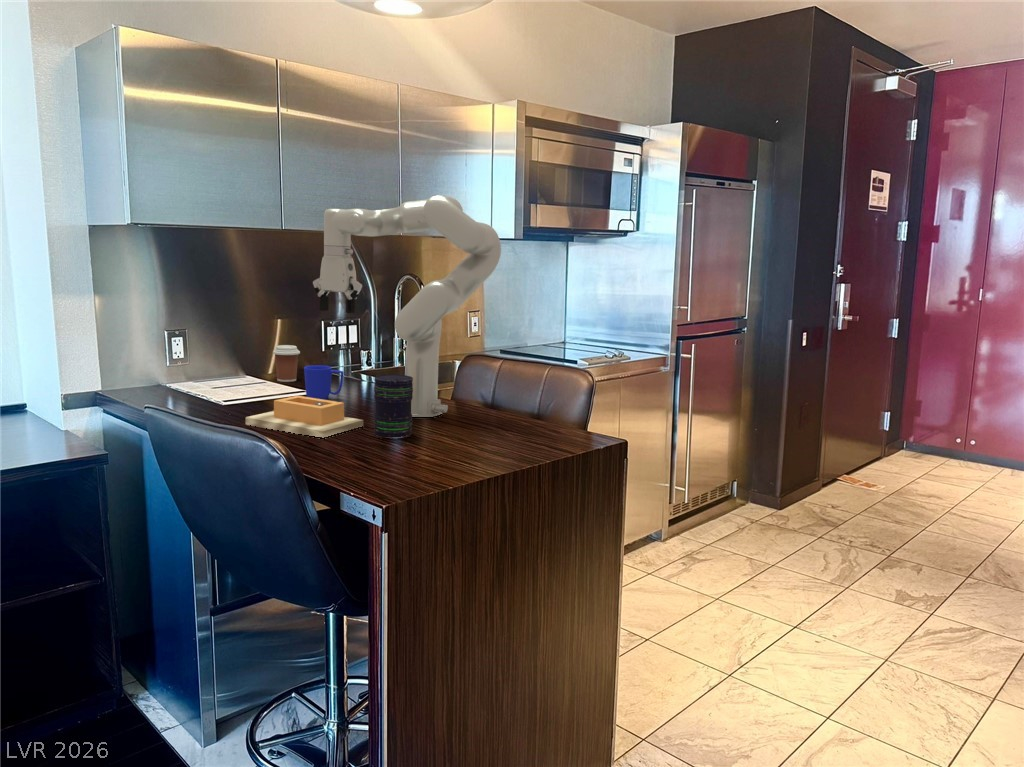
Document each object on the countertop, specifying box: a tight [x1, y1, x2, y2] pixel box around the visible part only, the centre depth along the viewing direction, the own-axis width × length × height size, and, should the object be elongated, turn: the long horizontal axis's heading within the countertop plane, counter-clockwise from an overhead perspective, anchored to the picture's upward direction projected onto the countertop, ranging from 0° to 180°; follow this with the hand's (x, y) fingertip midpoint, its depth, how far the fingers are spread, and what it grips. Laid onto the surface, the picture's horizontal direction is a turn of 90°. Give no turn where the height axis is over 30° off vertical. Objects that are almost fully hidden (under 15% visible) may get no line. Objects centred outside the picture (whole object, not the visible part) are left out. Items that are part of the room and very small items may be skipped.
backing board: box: [245, 410, 364, 438], centre depth 200 cm, size 26×16×2 cm, turn 63°
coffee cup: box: [272, 344, 301, 383], centre depth 265 cm, size 9×9×12 cm
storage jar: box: [373, 374, 413, 437], centre depth 194 cm, size 10×10×15 cm
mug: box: [303, 364, 344, 400], centre depth 235 cm, size 8×12×10 cm
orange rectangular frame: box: [273, 395, 345, 426], centre depth 200 cm, size 16×9×4 cm, turn 63°
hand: (337, 311), depth 222 cm, fingers open, 9 cm apart
